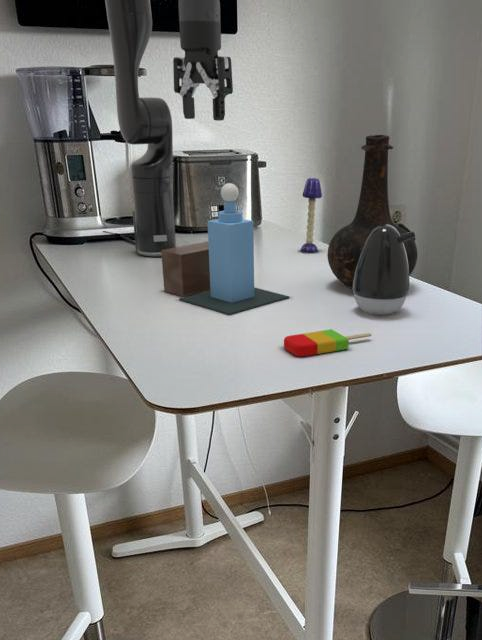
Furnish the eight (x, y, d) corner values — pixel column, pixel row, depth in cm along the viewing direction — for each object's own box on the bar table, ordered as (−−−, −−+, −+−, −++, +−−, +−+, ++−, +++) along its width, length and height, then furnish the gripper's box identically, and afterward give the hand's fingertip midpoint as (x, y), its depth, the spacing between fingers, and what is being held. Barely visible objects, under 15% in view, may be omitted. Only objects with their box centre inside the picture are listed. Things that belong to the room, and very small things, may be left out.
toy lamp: (320, 249, 174) (323, 177, 166) (319, 253, 170) (322, 180, 162) (301, 249, 175) (302, 177, 166) (299, 253, 171) (301, 179, 162)
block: (164, 291, 139) (160, 250, 135) (208, 280, 147) (207, 241, 143) (183, 296, 136) (180, 254, 132) (228, 285, 143) (227, 245, 139)
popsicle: (280, 347, 110) (281, 336, 109) (361, 334, 116) (362, 323, 115) (296, 358, 106) (297, 346, 105) (379, 344, 112) (380, 333, 111)
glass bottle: (425, 296, 137) (443, 138, 123) (337, 299, 134) (345, 138, 121) (398, 274, 152) (410, 132, 138) (318, 277, 150) (323, 132, 136)
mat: (179, 300, 134) (179, 298, 134) (239, 285, 144) (239, 283, 144) (229, 315, 125) (229, 313, 125) (289, 297, 136) (289, 296, 135)
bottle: (249, 308, 137) (286, 225, 123) (226, 314, 133) (262, 230, 119) (207, 263, 141) (239, 178, 127) (184, 268, 137) (214, 180, 123)
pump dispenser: (401, 322, 122) (410, 231, 115) (344, 315, 125) (349, 227, 118) (413, 306, 131) (421, 221, 123) (359, 301, 134) (364, 217, 126)
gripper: (241, 19, 125) (243, 120, 134) (190, 22, 134) (194, 117, 142) (210, 16, 121) (214, 121, 129) (159, 20, 129) (165, 118, 137)
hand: (203, 119), depth 135 cm, fingers open, 8 cm apart
